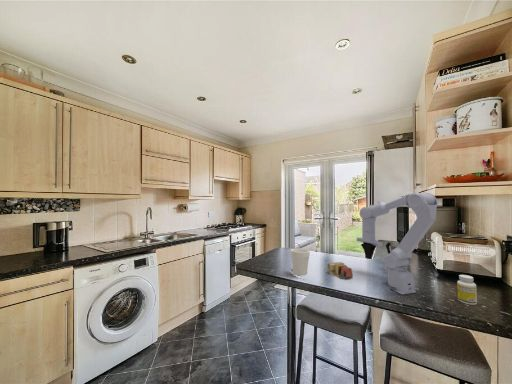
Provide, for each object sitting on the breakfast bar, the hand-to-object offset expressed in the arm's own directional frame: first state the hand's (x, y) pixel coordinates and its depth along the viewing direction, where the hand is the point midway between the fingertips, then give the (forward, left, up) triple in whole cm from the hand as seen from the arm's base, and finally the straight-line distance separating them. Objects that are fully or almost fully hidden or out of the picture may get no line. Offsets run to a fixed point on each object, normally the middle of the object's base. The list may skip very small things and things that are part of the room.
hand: (368, 258), depth 110 cm
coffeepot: (+1, -21, -10) cm, 23 cm away
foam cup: (+12, +32, -10) cm, 36 cm away
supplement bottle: (-31, -17, -10) cm, 37 cm away
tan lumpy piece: (+4, +14, -8) cm, 17 cm away
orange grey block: (+3, +14, -7) cm, 16 cm away
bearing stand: (+4, +14, -10) cm, 18 cm away
